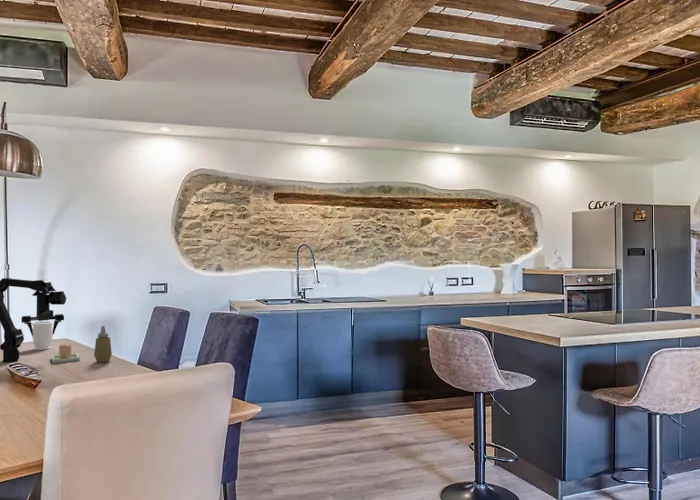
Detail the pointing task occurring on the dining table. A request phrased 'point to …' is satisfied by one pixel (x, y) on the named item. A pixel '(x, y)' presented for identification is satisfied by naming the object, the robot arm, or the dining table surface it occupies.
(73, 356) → the tray
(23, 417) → the dining table surface
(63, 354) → the pink rounded cylinder
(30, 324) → the robot arm
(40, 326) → the jar
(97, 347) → the squeeze bottle
